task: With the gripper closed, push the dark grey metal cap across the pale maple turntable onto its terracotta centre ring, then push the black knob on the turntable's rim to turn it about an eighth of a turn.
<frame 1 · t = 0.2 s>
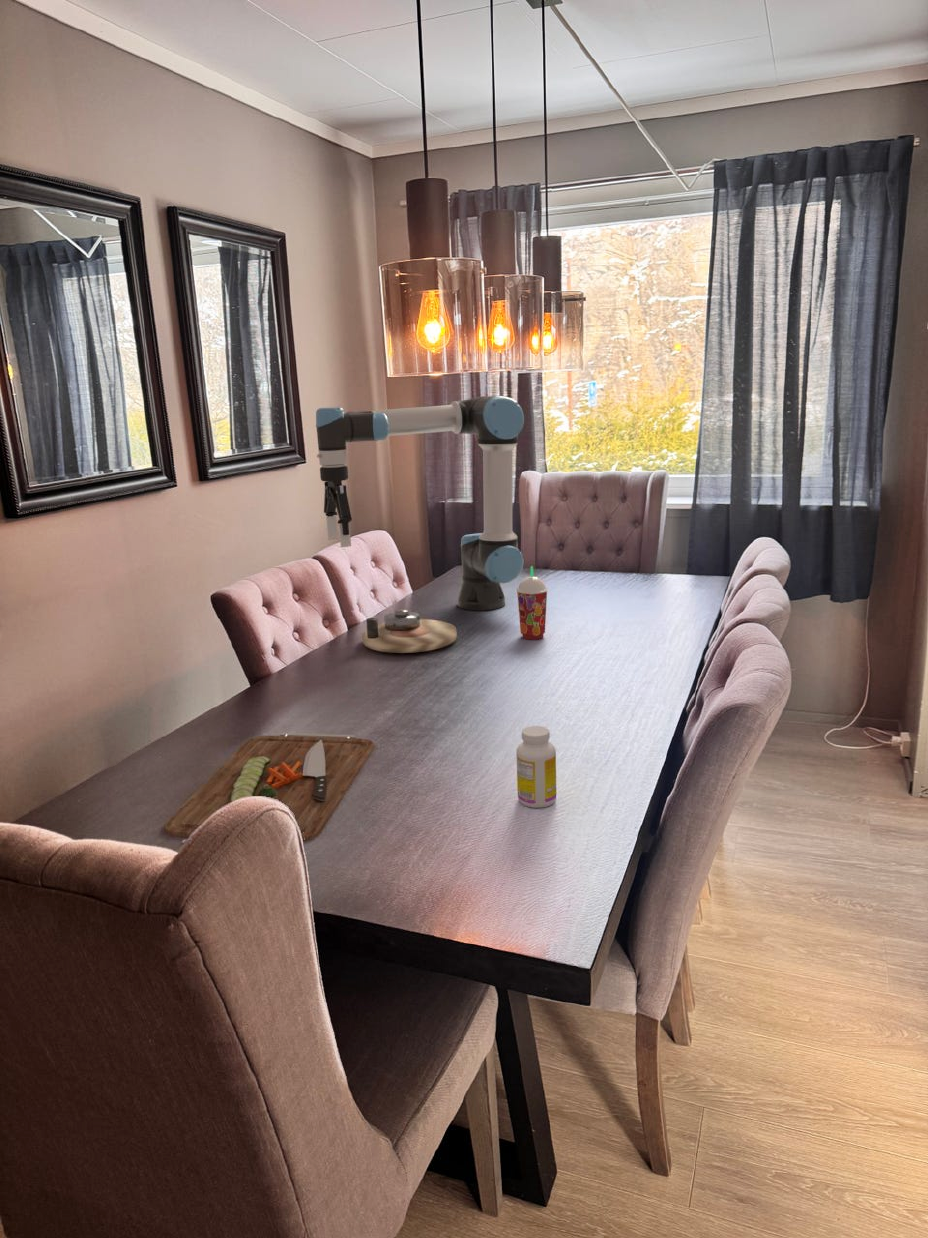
hand: (339, 542, 248), 27 cm above the table, tool pointing down, fingers open, 13 cm apart
turntable: (409, 626, 245), point 5 cm above the table, hinge at 0.0°, touching cover
cover: (402, 626, 251), point 3 cm above the table, touching turntable
supplement bottle: (536, 801, 153), on the table
smoothie: (532, 637, 248), on the table
chopping board: (279, 787, 163), on the table
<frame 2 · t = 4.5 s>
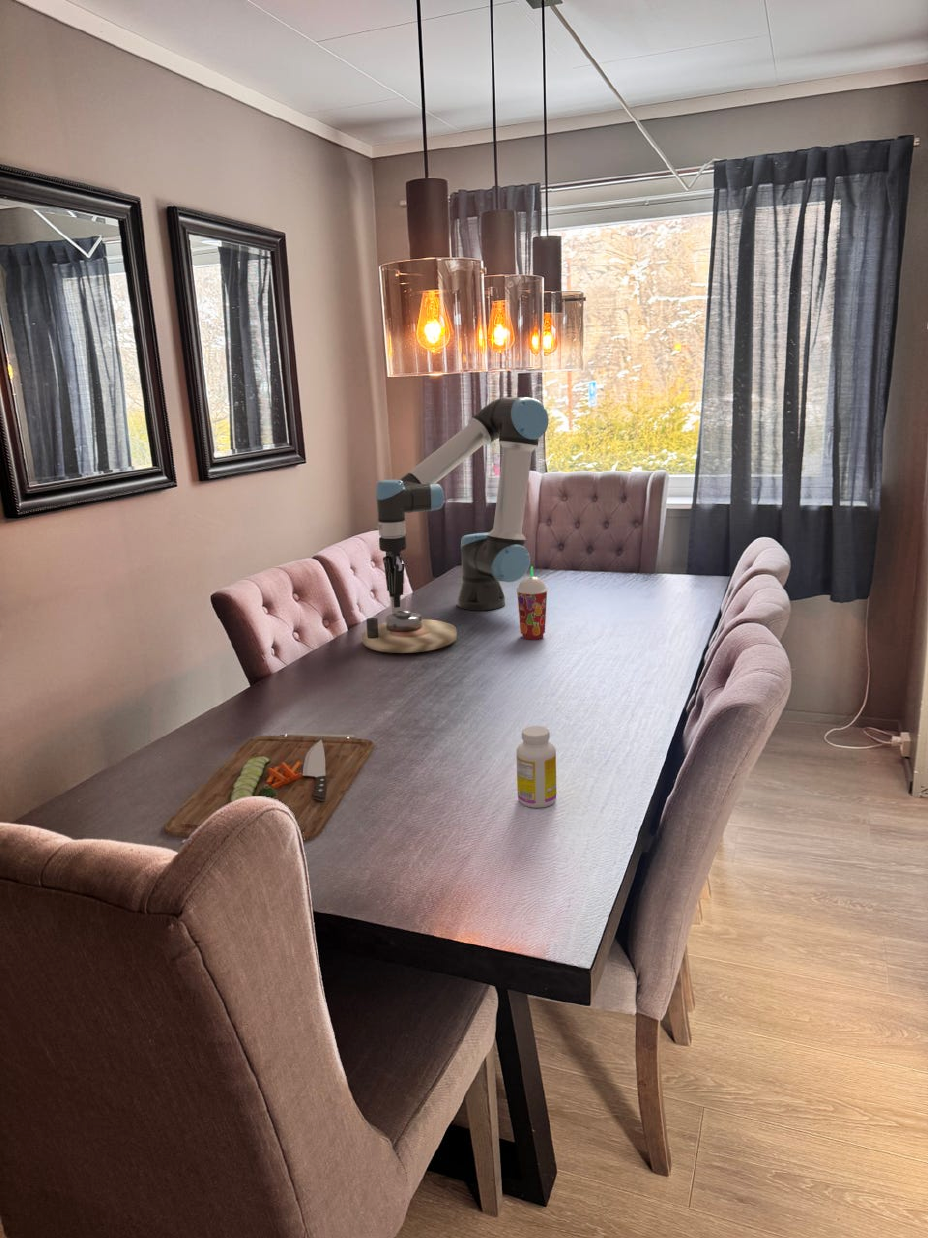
hand: (396, 617, 254), 5 cm above the table, tool pointing down, fingers closed
turntable: (409, 626, 245), point 5 cm above the table, hinge at 0.0°
cover: (404, 627, 250), point 3 cm above the table, touching gripper
everything else where it was.
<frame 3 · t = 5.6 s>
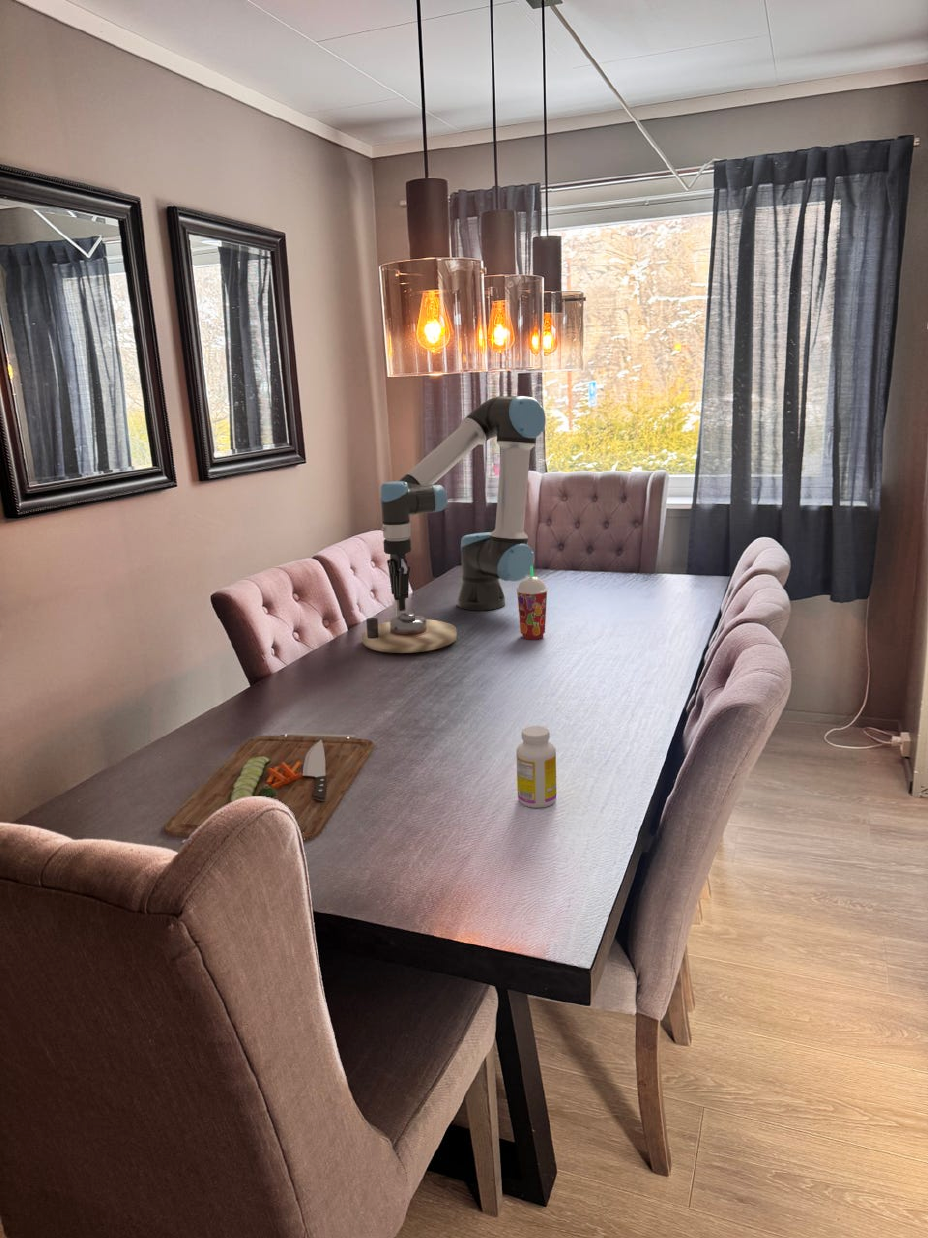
hand: (401, 620, 251), 5 cm above the table, tool pointing down, fingers closed
turntable: (409, 626, 245), point 5 cm above the table, hinge at 0.0°, touching cover
cover: (408, 630, 247), point 3 cm above the table, touching gripper, turntable
everything else where it was.
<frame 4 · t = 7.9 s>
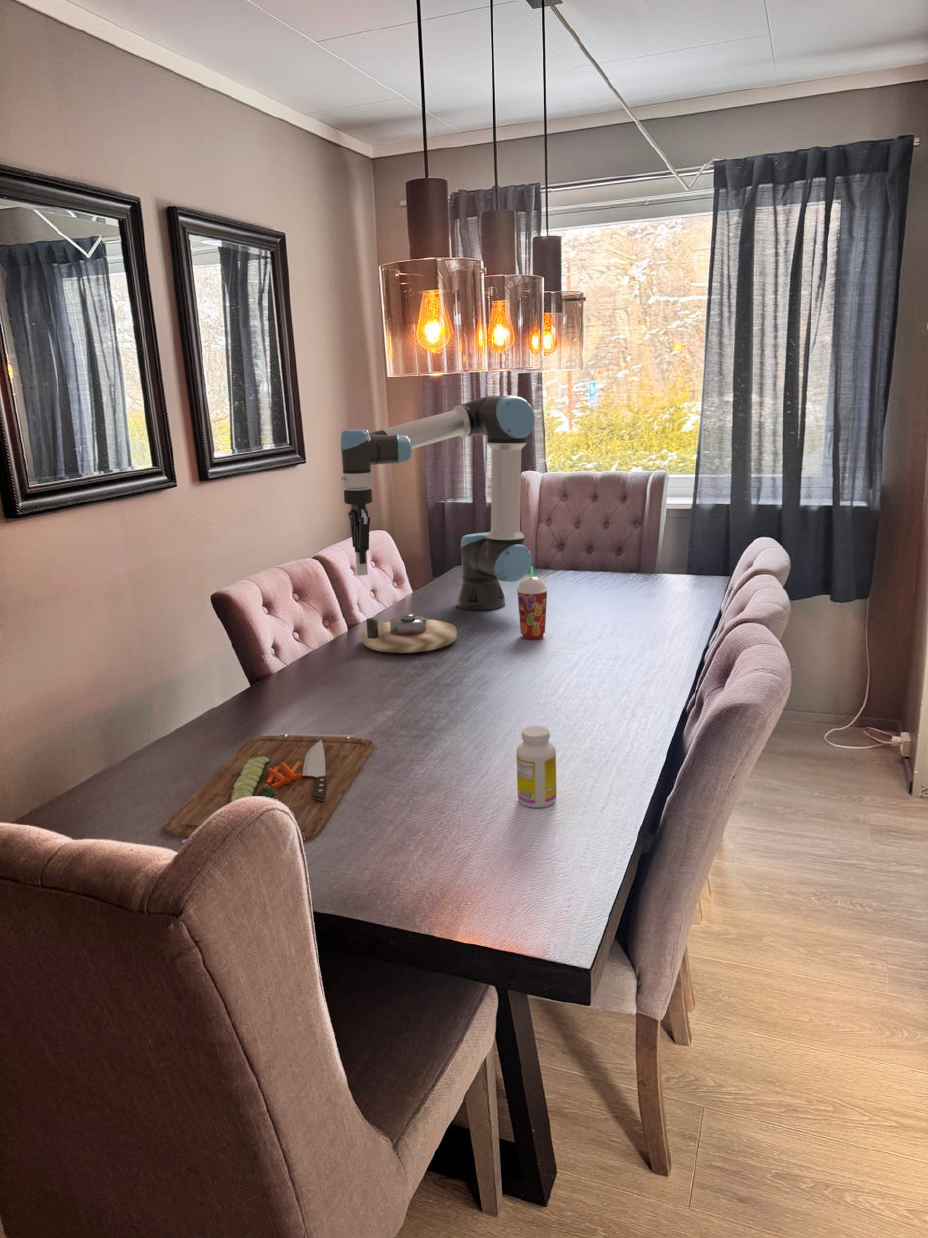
hand: (362, 574, 244), 19 cm above the table, tool pointing down, fingers closed
cover: (408, 630, 246), point 3 cm above the table, touching turntable
everything else where it was.
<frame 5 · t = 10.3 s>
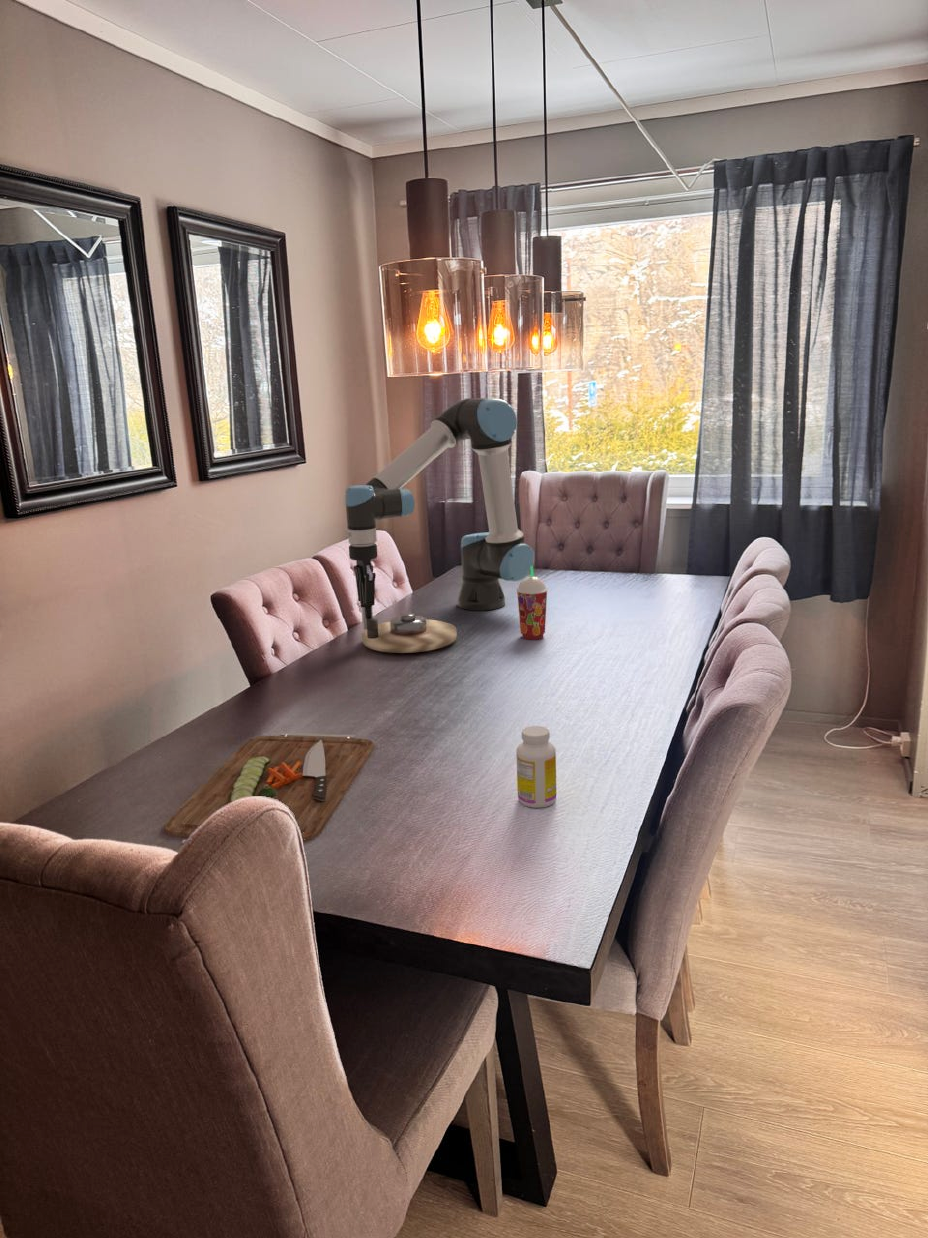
hand: (368, 628, 244), 5 cm above the table, tool pointing down, fingers closed
turntable: (409, 626, 245), point 5 cm above the table, hinge at 0.1°, touching cover, gripper
everything else where it was.
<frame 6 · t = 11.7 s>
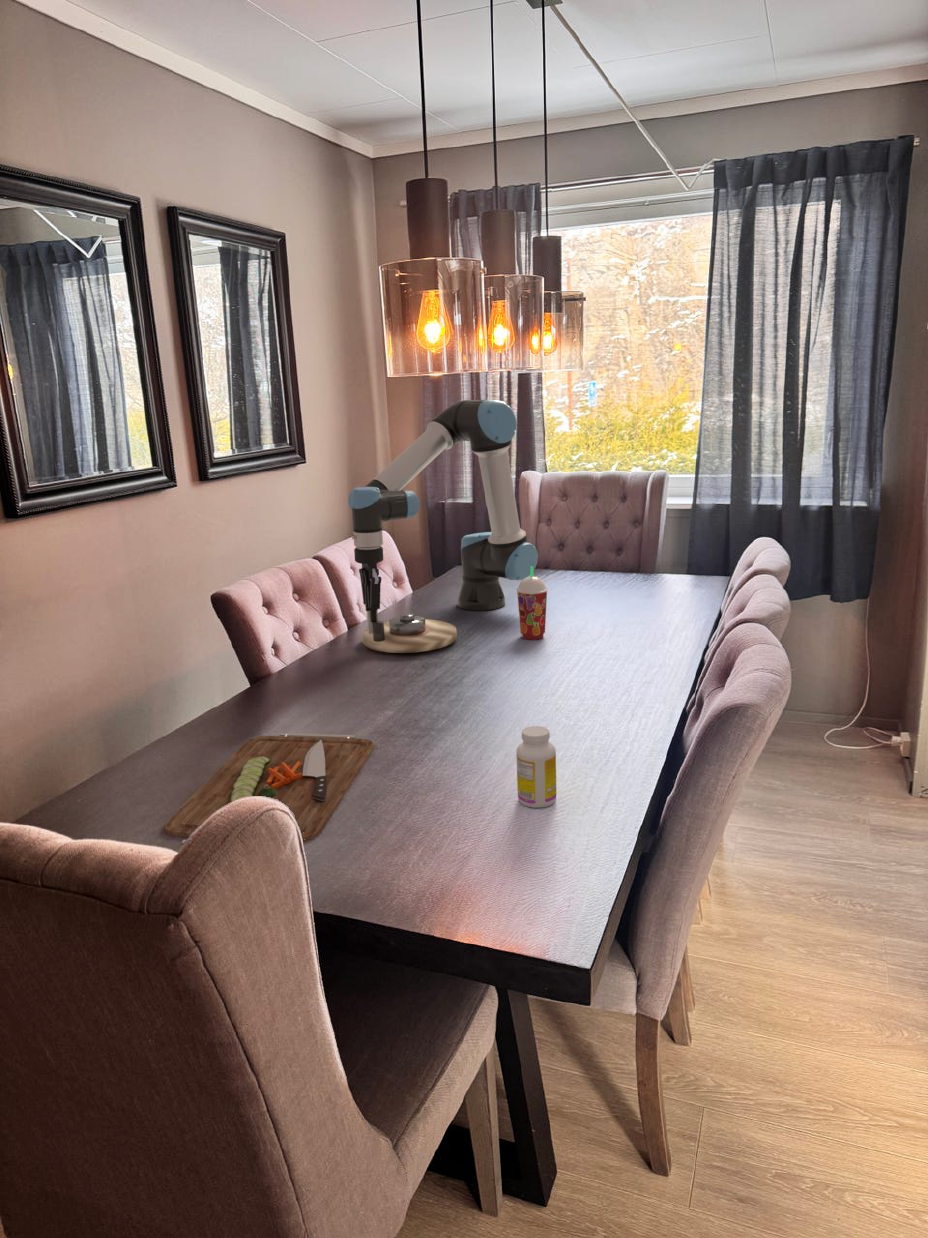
hand: (373, 632, 240), 5 cm above the table, tool pointing down, fingers closed
turntable: (409, 626, 245), point 5 cm above the table, hinge at 20.0°, touching cover, gripper
everything else where it was.
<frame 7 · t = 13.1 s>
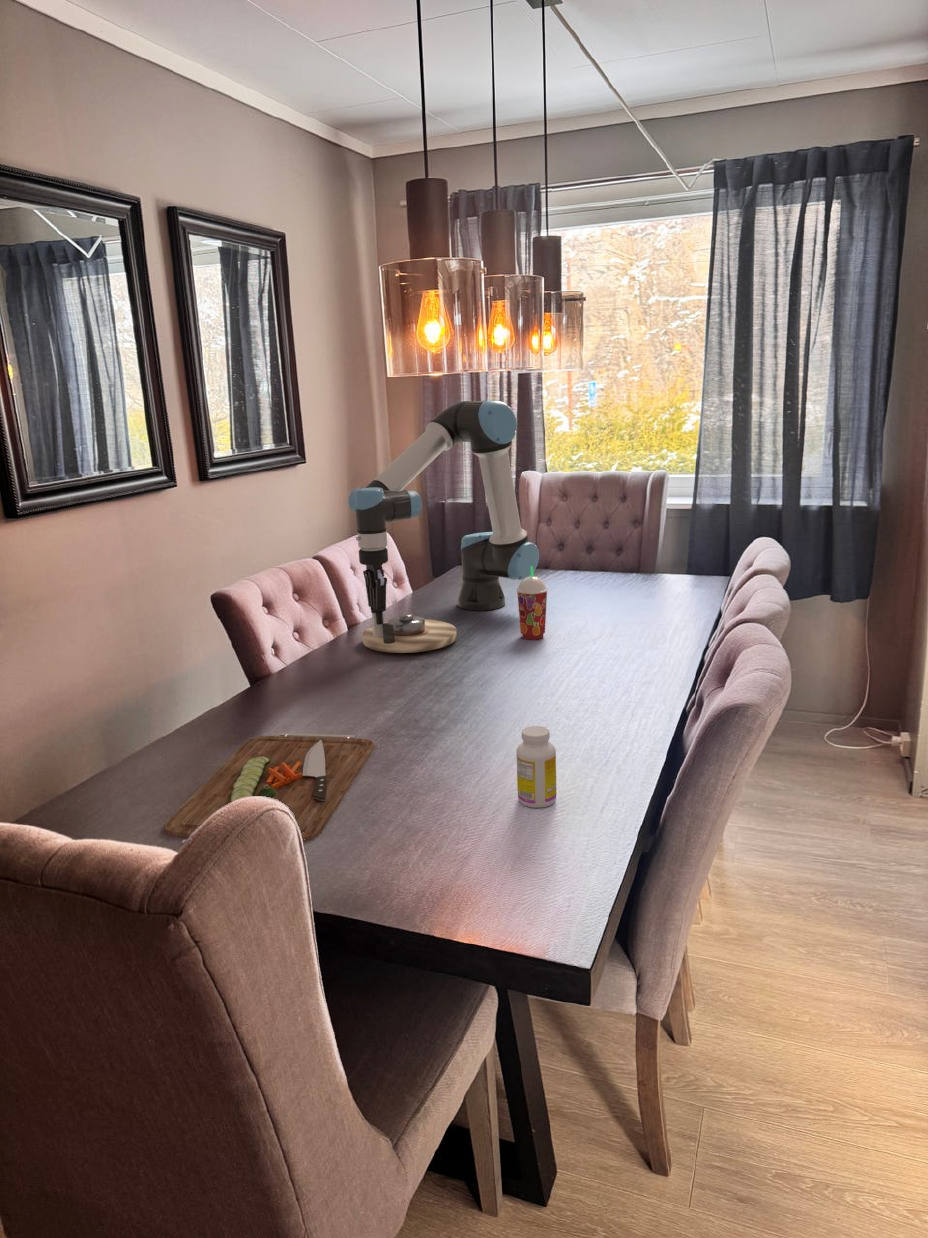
hand: (379, 634, 238), 5 cm above the table, tool pointing down, fingers closed
turntable: (409, 626, 245), point 5 cm above the table, hinge at 39.8°, touching cover
everything else where it was.
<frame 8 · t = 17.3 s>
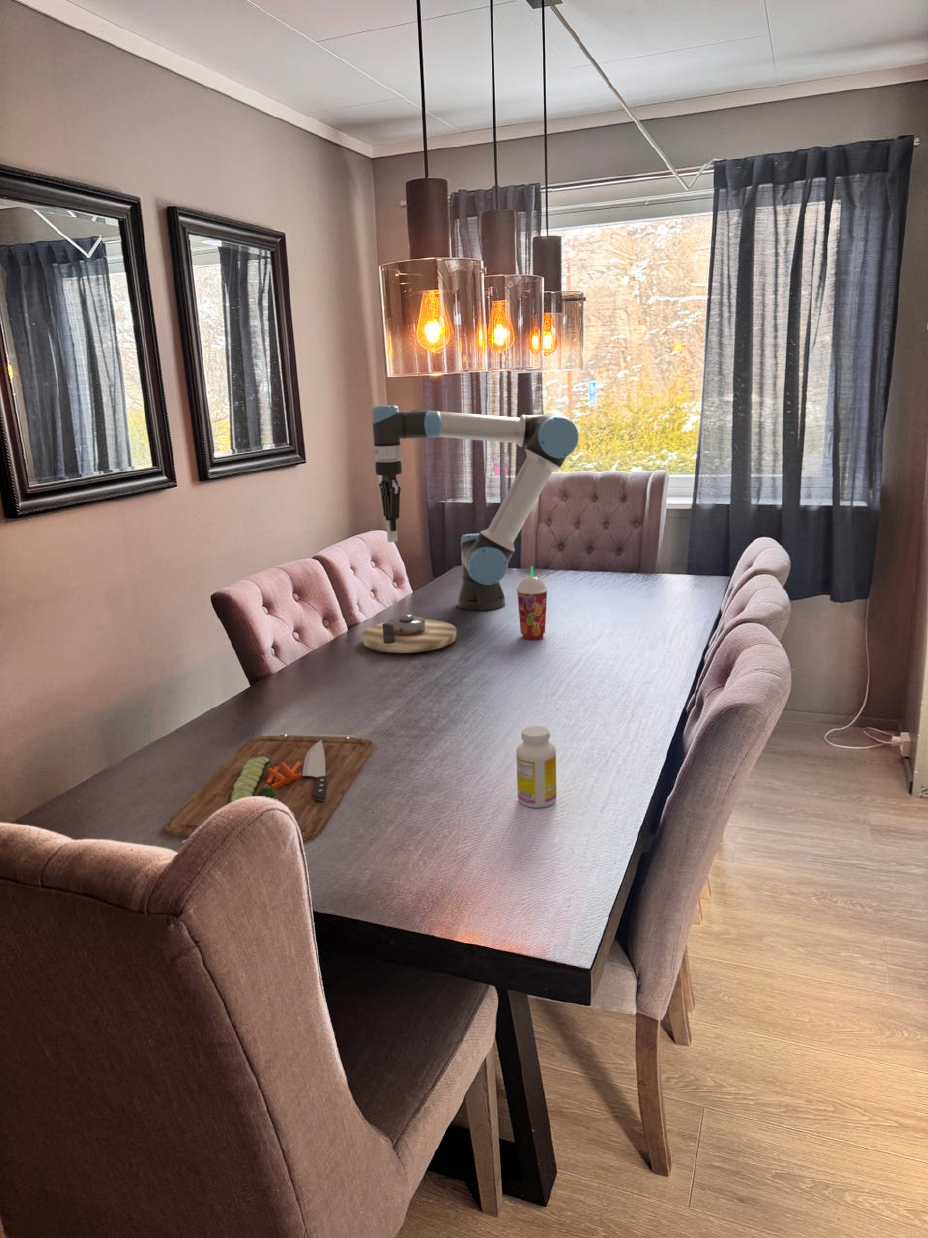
hand: (392, 541, 262), 24 cm above the table, tool pointing down, fingers closed
nothing on the table moved.
at the end: cover 0.8 cm from the turntable (horizontally); turntable at +40° (first picture: +0°); cover tilted 0° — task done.
